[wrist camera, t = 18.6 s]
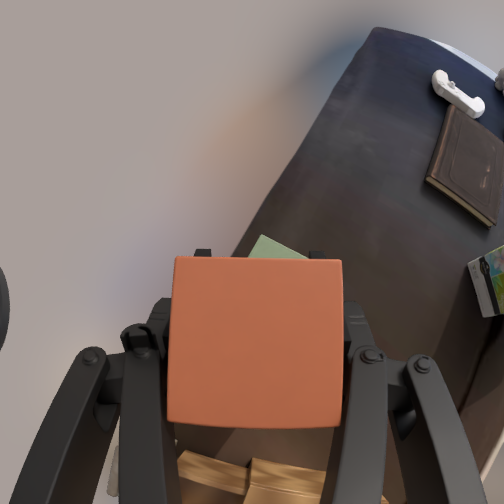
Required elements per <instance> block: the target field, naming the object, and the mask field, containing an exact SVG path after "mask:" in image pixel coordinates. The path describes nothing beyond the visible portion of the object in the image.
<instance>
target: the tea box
mask: <svg viewBox="0 0 504 504" xmlns="http://www.w3.org/2000/svg"><path fill="white" fill-rule="evenodd" d="M467 265H468V268H469V271H470V274H471V278H472V281H473V284H474V288H475V291H476V294H477V298H478V301H479V305H480V309H481V312H482V316H483V317H490V316H495V315H499V314H504V245H503V246H501V247H499V248H497V249H495V250H493V251H491V252H489V253H487V254H485V255H484V256H481V257H479V258H477V259H475V260H473V261H471V262H469V263H468V264H467Z"/></svg>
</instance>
